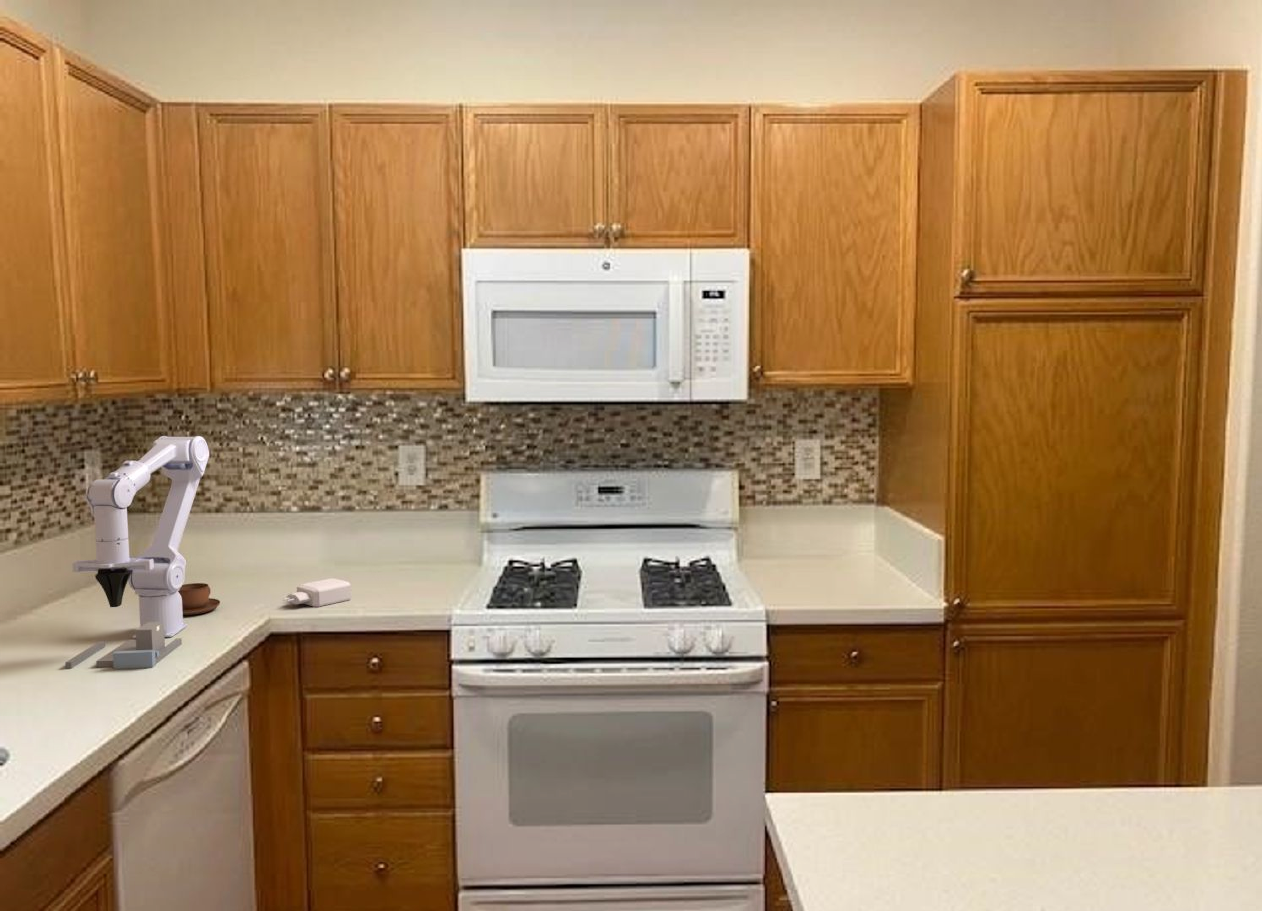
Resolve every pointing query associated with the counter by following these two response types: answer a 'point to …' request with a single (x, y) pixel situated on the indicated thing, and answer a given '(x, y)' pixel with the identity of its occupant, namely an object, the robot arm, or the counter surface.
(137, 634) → the tall taupe box
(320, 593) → the charger
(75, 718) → the counter surface
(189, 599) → the cup and saucer
